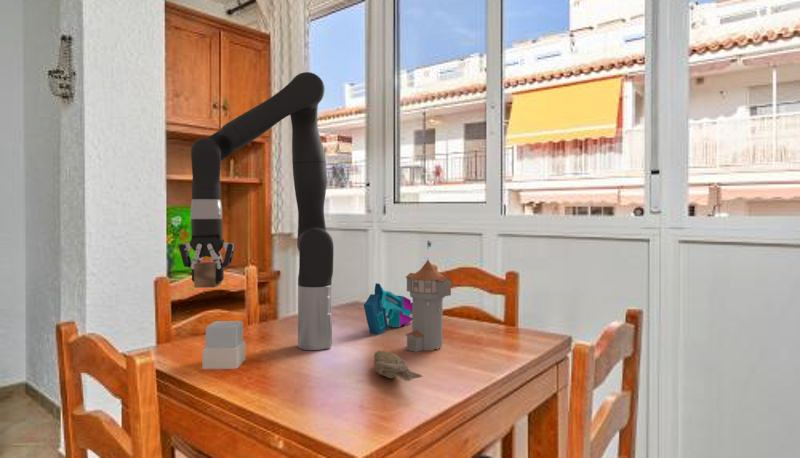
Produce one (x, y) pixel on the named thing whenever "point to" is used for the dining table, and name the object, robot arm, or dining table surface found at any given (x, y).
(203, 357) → the tower base
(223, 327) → the tower top
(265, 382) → the dining table surface
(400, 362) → the sculpture
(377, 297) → the toy gun
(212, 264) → the walnut block
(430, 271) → the model building
